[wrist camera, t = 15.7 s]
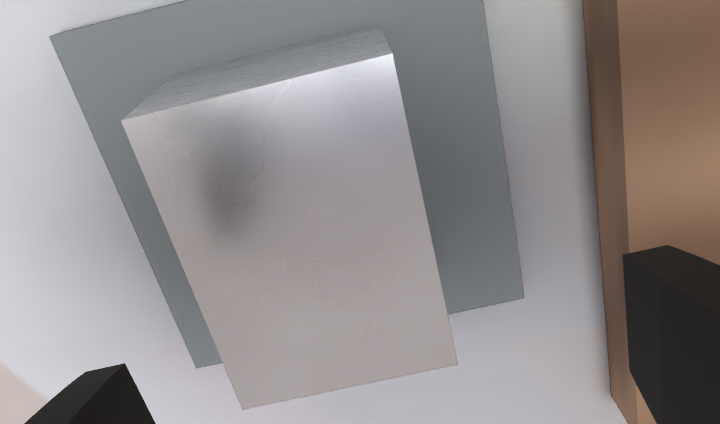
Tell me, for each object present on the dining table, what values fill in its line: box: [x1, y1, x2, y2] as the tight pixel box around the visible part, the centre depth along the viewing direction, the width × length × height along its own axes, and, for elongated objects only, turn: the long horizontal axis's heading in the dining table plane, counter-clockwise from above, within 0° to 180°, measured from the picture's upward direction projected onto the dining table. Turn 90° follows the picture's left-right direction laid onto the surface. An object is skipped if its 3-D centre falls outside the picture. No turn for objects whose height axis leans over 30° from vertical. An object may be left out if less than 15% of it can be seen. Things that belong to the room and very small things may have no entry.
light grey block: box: [121, 23, 458, 410], centre depth 14 cm, size 7×5×4 cm
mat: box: [50, 0, 524, 368], centre depth 16 cm, size 10×10×1 cm
